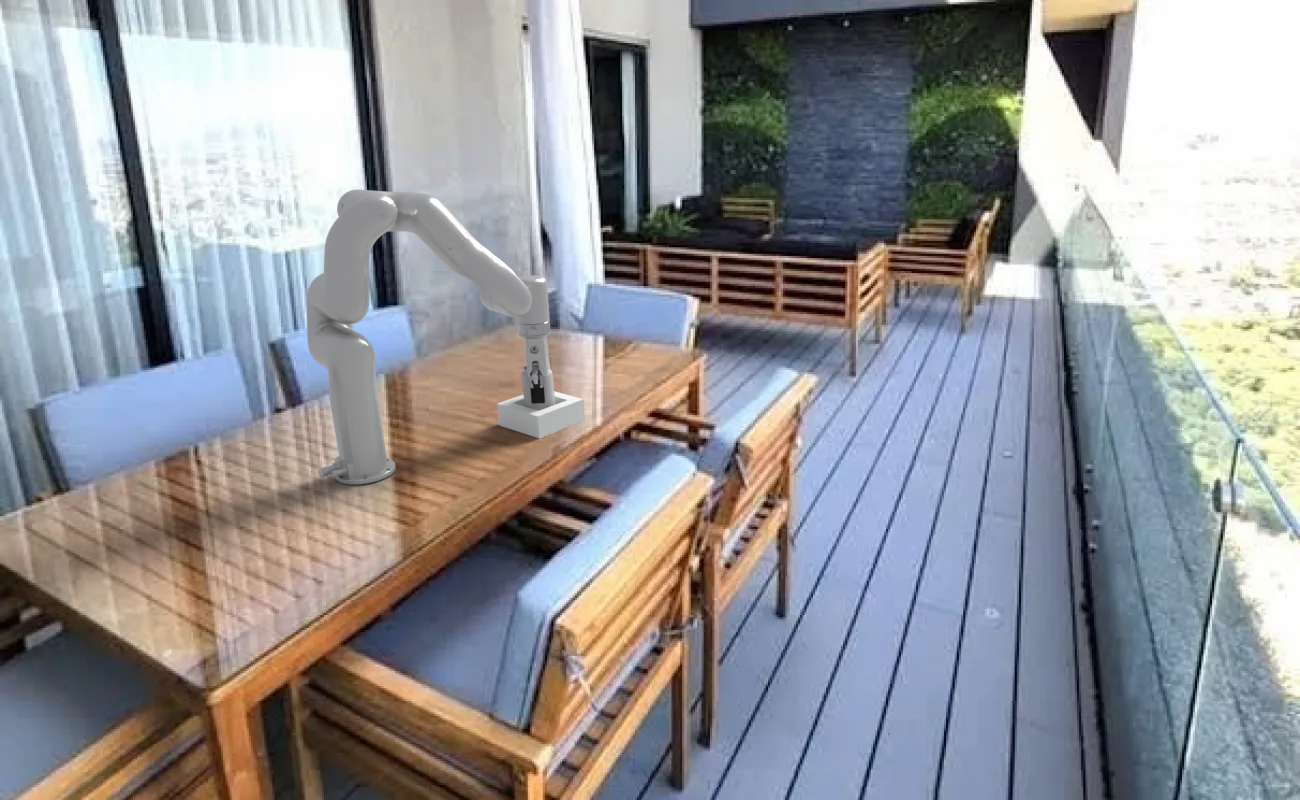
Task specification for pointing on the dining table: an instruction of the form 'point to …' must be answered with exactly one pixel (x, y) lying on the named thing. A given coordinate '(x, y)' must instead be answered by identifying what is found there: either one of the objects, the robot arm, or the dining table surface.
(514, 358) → the dining table surface
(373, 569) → the dining table surface
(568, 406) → the riser
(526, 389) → the can
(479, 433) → the dining table surface
